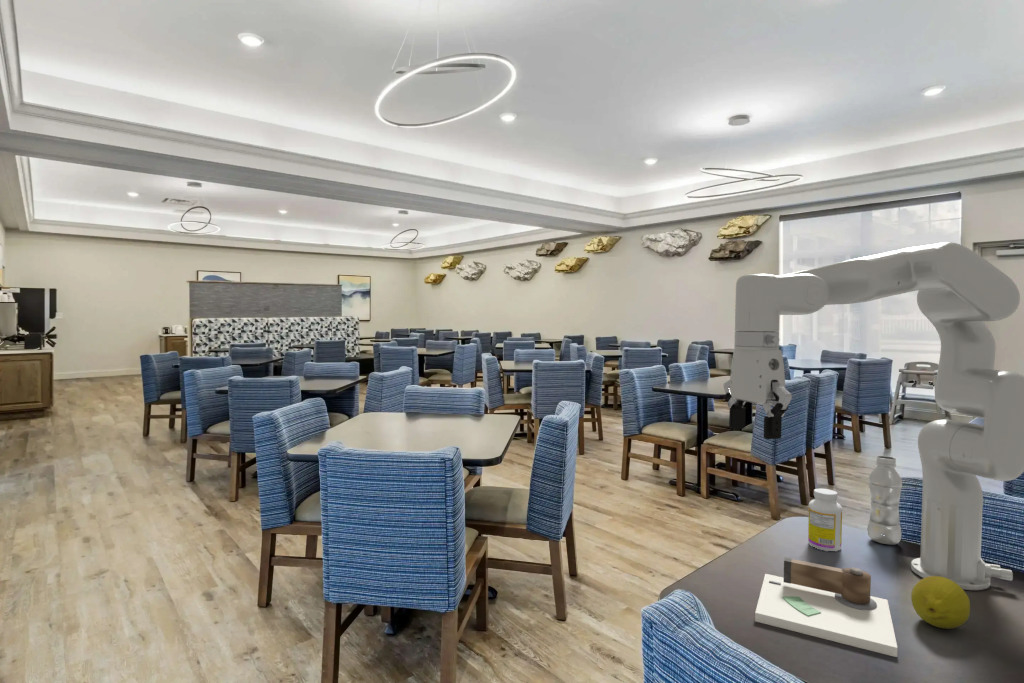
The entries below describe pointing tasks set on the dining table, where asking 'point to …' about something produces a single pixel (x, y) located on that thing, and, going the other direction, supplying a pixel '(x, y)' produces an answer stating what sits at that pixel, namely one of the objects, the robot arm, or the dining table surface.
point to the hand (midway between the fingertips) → (753, 433)
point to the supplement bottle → (825, 521)
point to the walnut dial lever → (830, 579)
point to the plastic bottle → (885, 502)
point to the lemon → (940, 602)
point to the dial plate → (826, 615)
